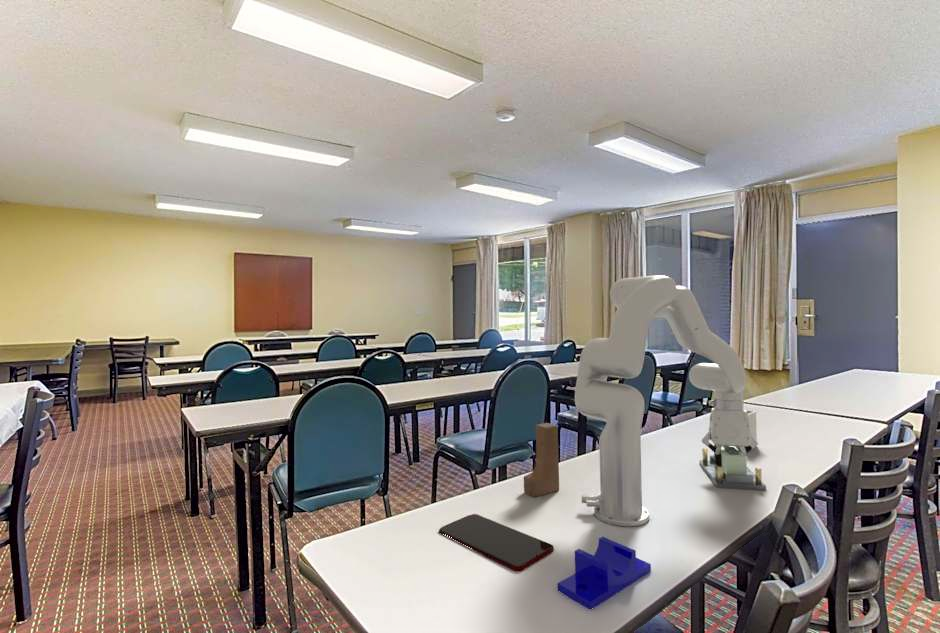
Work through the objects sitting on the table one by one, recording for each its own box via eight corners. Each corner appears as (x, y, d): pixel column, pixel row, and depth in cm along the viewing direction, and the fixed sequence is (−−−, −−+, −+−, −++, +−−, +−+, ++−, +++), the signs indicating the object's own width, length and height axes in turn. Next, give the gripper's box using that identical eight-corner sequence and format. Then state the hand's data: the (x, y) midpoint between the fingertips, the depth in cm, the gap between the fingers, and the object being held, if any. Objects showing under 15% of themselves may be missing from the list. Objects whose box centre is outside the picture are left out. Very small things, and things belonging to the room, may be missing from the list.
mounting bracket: (618, 558, 97) (617, 529, 96) (651, 573, 91) (650, 542, 91) (557, 593, 85) (556, 559, 85) (590, 612, 80) (589, 576, 80)
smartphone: (474, 511, 118) (556, 544, 100) (474, 517, 118) (557, 552, 100) (435, 528, 110) (517, 568, 91) (435, 535, 110) (518, 576, 91)
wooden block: (533, 497, 127) (531, 430, 127) (523, 492, 131) (521, 426, 131) (559, 490, 132) (558, 425, 131) (549, 485, 135) (547, 422, 135)
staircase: (717, 449, 166) (716, 401, 165) (729, 442, 173) (728, 396, 173) (745, 454, 159) (744, 404, 159) (756, 447, 167) (755, 399, 166)
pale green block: (726, 476, 133) (726, 452, 133) (714, 461, 146) (713, 440, 145) (746, 477, 132) (746, 453, 132) (732, 462, 144) (732, 440, 144)
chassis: (716, 487, 130) (716, 468, 130) (699, 463, 150) (699, 447, 150) (766, 490, 128) (765, 470, 128) (741, 465, 147) (741, 448, 147)
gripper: (699, 406, 137) (700, 470, 137) (766, 408, 133) (767, 473, 133) (693, 401, 144) (694, 462, 144) (756, 402, 140) (757, 464, 140)
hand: (729, 466), depth 139 cm, fingers closed on pale green block, 4 cm apart
